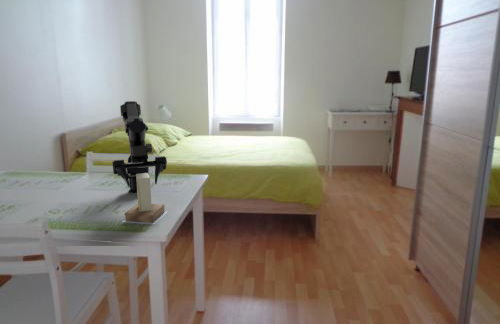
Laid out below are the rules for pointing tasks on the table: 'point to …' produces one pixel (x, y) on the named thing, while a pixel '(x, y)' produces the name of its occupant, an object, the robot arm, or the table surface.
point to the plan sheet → (147, 223)
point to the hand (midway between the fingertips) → (142, 185)
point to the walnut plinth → (144, 214)
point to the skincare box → (143, 192)
